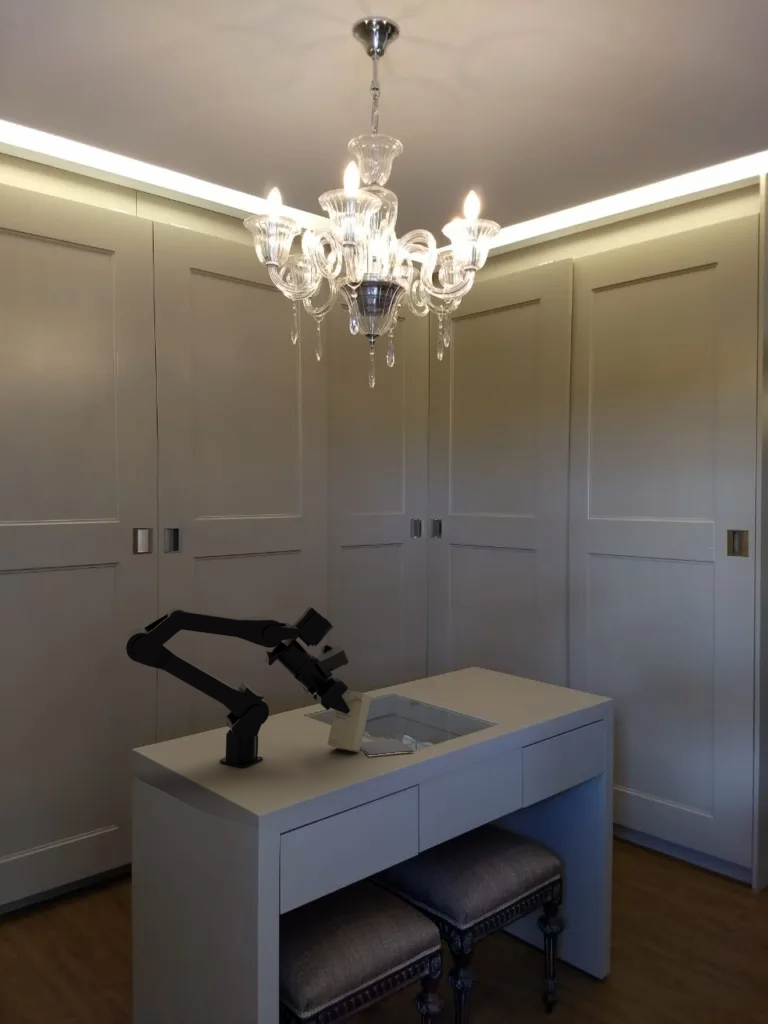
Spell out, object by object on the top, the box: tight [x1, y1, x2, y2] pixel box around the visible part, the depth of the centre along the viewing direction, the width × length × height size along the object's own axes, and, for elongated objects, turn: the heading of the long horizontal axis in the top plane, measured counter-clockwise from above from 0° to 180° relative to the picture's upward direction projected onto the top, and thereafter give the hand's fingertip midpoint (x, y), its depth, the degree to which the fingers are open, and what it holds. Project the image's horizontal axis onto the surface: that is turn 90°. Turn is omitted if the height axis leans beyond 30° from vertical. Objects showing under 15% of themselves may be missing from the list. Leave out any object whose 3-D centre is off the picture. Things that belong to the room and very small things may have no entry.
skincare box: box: [327, 690, 372, 753], centre depth 168 cm, size 6×4×12 cm
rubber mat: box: [361, 738, 414, 756], centre depth 169 cm, size 10×9×1 cm
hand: (348, 711), depth 166 cm, fingers closed
